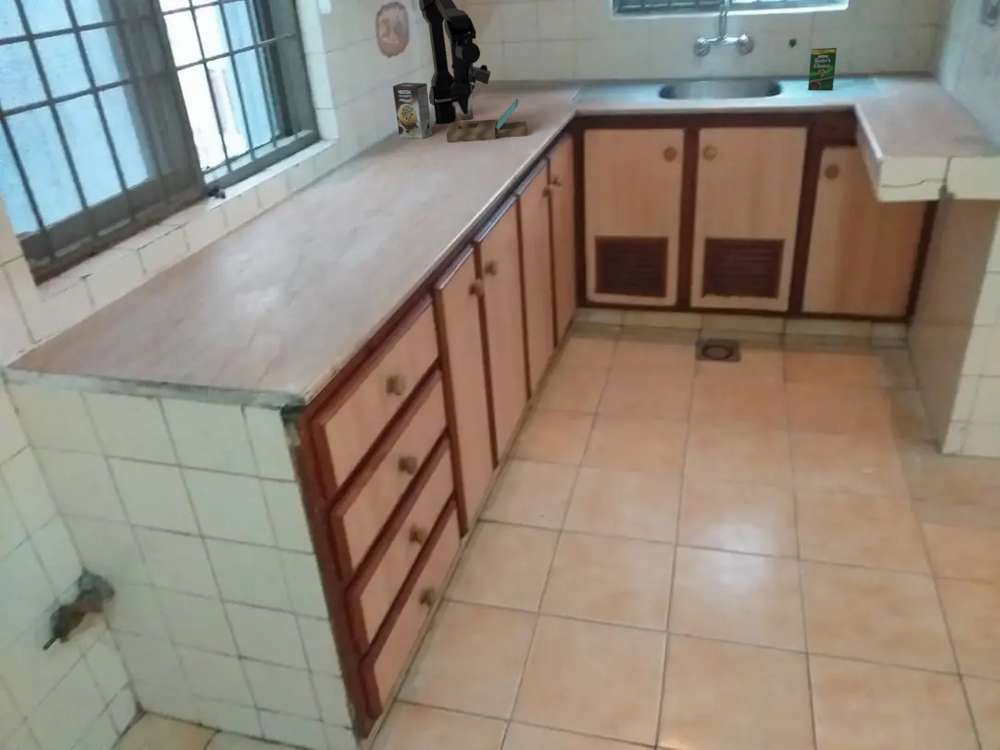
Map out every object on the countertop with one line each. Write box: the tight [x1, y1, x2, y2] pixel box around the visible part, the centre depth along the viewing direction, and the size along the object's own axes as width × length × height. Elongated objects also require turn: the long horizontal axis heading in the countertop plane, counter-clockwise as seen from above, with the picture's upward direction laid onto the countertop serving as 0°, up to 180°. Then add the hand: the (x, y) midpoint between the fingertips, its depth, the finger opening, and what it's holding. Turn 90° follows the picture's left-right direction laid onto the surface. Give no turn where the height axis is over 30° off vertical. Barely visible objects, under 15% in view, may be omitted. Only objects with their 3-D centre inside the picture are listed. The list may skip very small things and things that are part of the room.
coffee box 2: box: [807, 47, 837, 91], centre depth 272 cm, size 8×3×13 cm, turn 62°
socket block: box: [446, 118, 528, 143], centre depth 256 cm, size 24×14×3 cm, turn 87°
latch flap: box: [496, 98, 519, 129], centre depth 253 cm, size 9×10×1 cm
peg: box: [459, 94, 474, 121], centre depth 253 cm, size 4×4×8 cm
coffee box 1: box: [392, 82, 433, 140], centre depth 258 cm, size 9×6×16 cm
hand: (466, 112), depth 254 cm, fingers closed on peg, 4 cm apart
